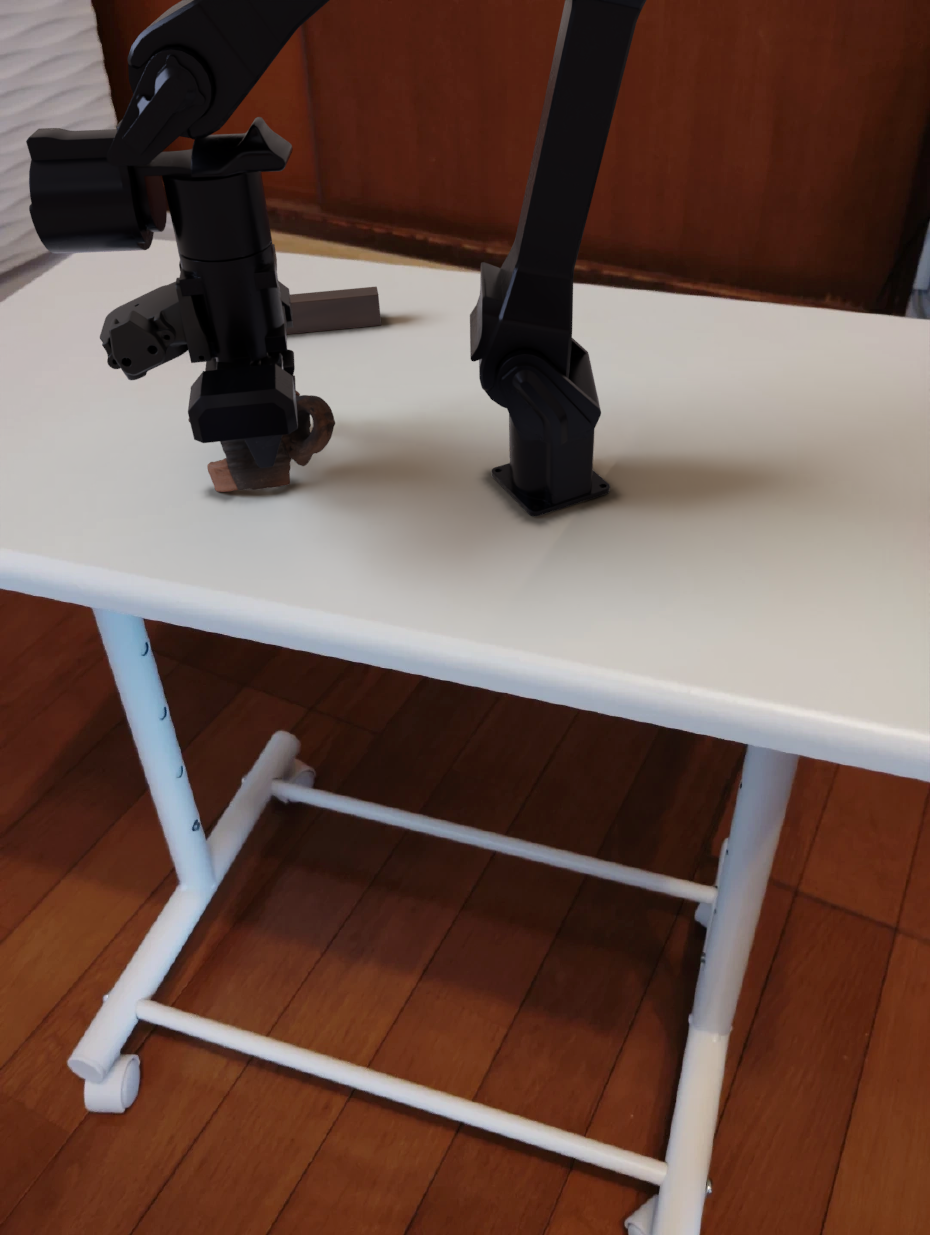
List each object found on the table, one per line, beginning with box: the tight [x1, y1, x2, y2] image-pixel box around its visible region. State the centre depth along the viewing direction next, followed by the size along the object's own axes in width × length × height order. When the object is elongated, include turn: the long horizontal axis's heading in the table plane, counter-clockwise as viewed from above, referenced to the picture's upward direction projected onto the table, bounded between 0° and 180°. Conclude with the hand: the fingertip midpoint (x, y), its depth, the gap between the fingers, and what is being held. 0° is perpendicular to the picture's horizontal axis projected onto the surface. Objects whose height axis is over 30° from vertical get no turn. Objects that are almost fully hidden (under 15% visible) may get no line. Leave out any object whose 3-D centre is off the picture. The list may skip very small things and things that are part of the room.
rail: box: [287, 286, 382, 335], centre depth 94 cm, size 2×20×3 cm, turn 98°
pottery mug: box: [188, 390, 336, 493], centre depth 76 cm, size 12×10×8 cm
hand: (266, 465), depth 72 cm, fingers closed
